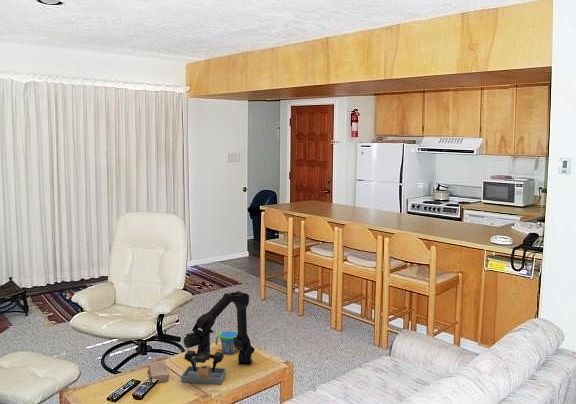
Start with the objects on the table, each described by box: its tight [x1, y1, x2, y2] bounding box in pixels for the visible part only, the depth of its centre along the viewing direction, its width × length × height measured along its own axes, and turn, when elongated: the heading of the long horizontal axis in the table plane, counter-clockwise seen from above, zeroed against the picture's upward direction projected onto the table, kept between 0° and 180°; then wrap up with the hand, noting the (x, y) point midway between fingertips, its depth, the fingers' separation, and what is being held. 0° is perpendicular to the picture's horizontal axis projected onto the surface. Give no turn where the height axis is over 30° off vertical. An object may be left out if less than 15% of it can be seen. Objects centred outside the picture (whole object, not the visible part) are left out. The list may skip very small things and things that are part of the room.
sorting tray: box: [180, 365, 227, 386], centre depth 263 cm, size 20×12×3 cm, turn 84°
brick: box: [148, 360, 170, 384], centre depth 265 cm, size 17×8×5 cm, turn 21°
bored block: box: [198, 364, 211, 378], centre depth 263 cm, size 5×5×5 cm
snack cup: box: [215, 330, 238, 354], centre depth 296 cm, size 16×10×10 cm
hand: (204, 372), depth 263 cm, fingers open, 9 cm apart
